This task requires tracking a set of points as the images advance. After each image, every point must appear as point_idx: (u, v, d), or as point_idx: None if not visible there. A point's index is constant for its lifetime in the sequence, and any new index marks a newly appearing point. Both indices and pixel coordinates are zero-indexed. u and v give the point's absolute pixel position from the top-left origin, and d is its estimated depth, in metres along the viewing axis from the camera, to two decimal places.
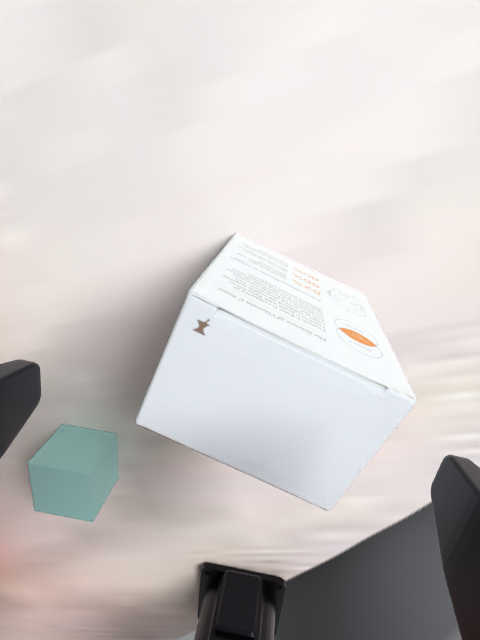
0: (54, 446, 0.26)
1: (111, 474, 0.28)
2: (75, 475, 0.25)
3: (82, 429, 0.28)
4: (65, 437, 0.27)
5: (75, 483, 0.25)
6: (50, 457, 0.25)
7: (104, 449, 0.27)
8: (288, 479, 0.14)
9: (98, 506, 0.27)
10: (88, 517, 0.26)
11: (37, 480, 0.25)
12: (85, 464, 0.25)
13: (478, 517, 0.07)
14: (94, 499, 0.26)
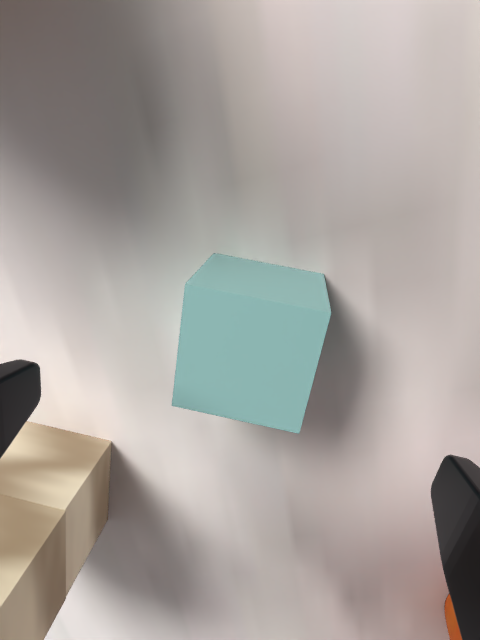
0: None
1: (287, 275, 0.13)
2: (192, 316, 0.11)
3: None
4: None
5: (216, 322, 0.11)
6: None
7: (203, 266, 0.13)
8: None
9: (311, 299, 0.12)
10: (316, 320, 0.11)
11: (214, 401, 0.12)
12: None
13: (478, 517, 0.07)
14: (274, 296, 0.11)
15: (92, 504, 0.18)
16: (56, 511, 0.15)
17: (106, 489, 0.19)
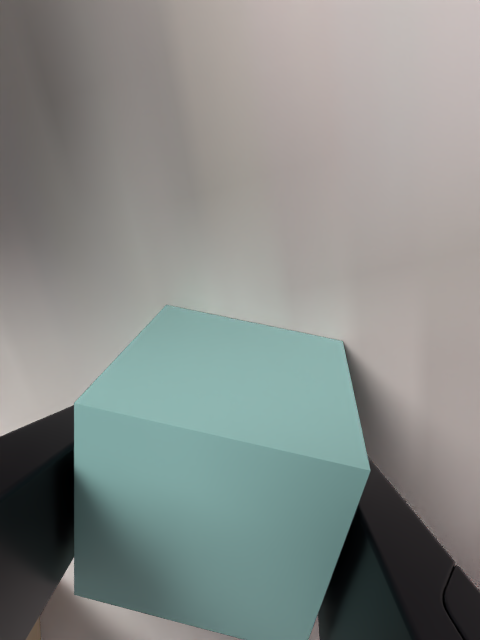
0: None
1: (282, 351, 0.08)
2: (94, 460, 0.06)
3: None
4: None
5: (140, 473, 0.06)
6: None
7: (135, 339, 0.08)
8: None
9: (328, 423, 0.06)
10: (339, 481, 0.05)
11: (148, 594, 0.07)
12: None
13: None
14: (255, 425, 0.06)
15: None
16: None
17: None
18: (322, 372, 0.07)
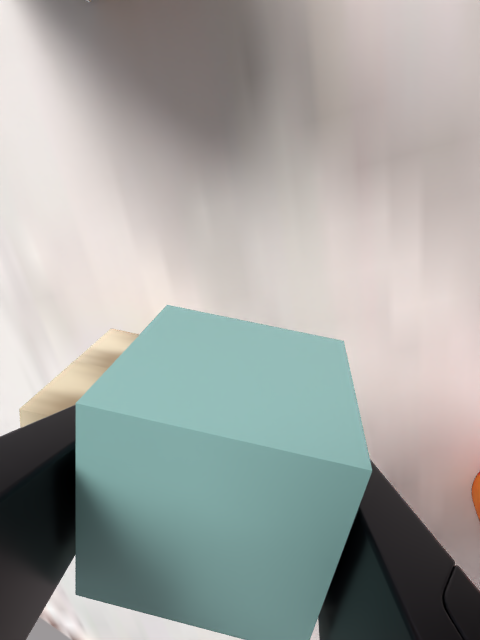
0: None
1: (283, 351, 0.08)
2: (95, 459, 0.06)
3: None
4: None
5: (142, 473, 0.06)
6: None
7: (136, 339, 0.07)
8: None
9: (329, 423, 0.06)
10: (341, 481, 0.05)
11: (149, 594, 0.07)
12: None
13: None
14: (256, 425, 0.06)
15: None
16: None
17: None
18: (323, 372, 0.07)
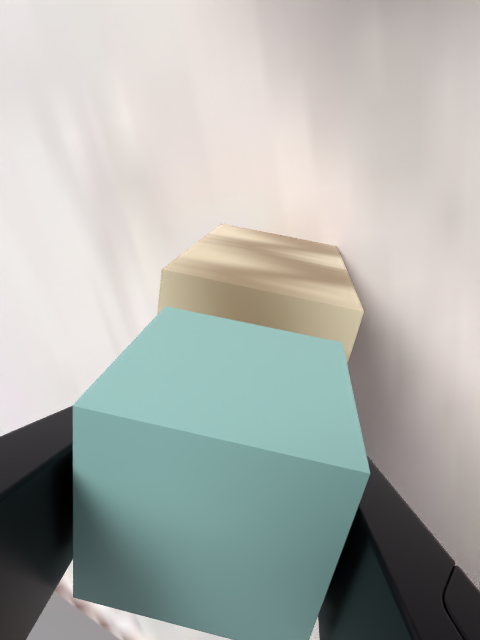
0: None
1: (282, 353, 0.08)
2: (93, 462, 0.06)
3: None
4: None
5: (139, 475, 0.06)
6: None
7: (135, 342, 0.07)
8: None
9: (327, 425, 0.06)
10: (338, 484, 0.05)
11: (146, 597, 0.07)
12: None
13: None
14: (254, 428, 0.06)
15: None
16: (338, 269, 0.13)
17: None
18: (322, 374, 0.07)
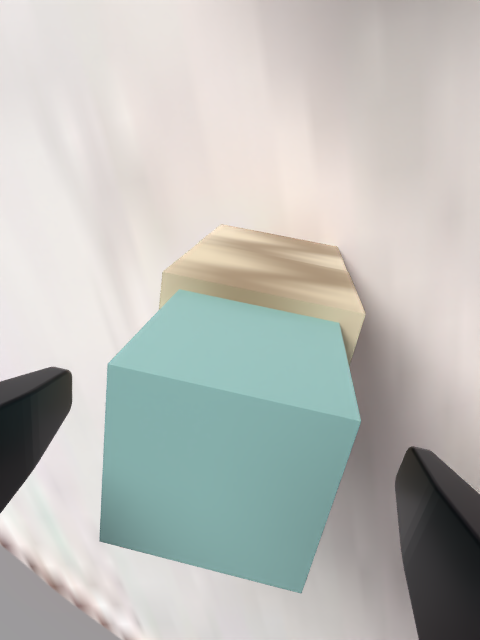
0: None
1: (285, 329, 0.09)
2: (123, 415, 0.07)
3: None
4: None
5: (162, 427, 0.07)
6: None
7: (154, 317, 0.08)
8: None
9: (325, 385, 0.07)
10: (334, 431, 0.06)
11: (165, 539, 0.08)
12: None
13: (433, 506, 0.07)
14: (262, 385, 0.07)
15: None
16: (339, 270, 0.13)
17: None
18: (320, 347, 0.08)
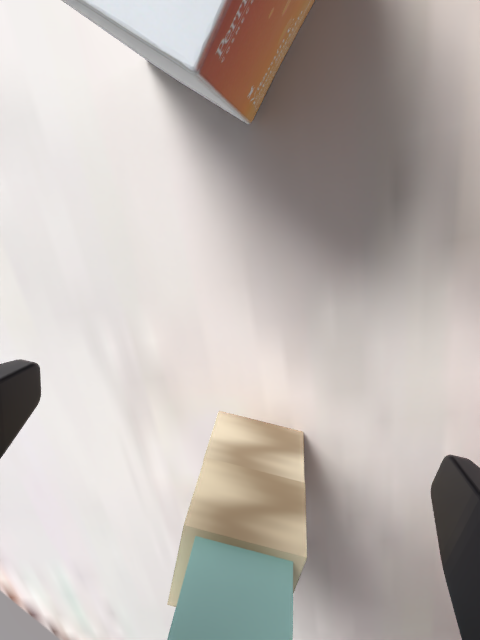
0: None
1: (259, 580, 0.15)
2: None
3: None
4: None
5: None
6: None
7: None
8: None
9: None
10: None
11: None
12: None
13: (478, 517, 0.07)
14: None
15: None
16: (299, 483, 0.19)
17: None
18: (278, 599, 0.15)
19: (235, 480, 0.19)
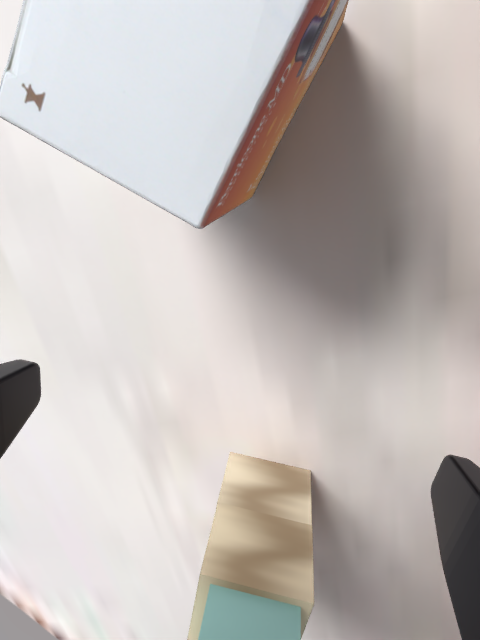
0: None
1: (269, 627, 0.16)
2: None
3: None
4: None
5: None
6: None
7: (200, 628, 0.16)
8: None
9: None
10: None
11: None
12: None
13: (478, 517, 0.07)
14: None
15: None
16: (306, 526, 0.21)
17: None
18: None
19: (246, 525, 0.20)
